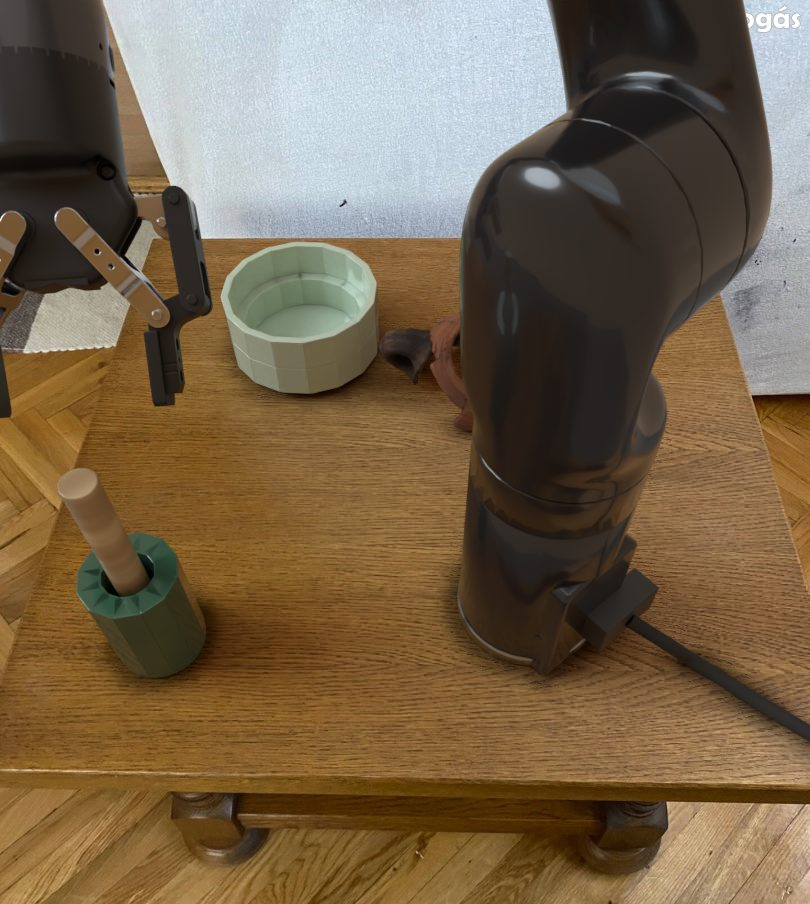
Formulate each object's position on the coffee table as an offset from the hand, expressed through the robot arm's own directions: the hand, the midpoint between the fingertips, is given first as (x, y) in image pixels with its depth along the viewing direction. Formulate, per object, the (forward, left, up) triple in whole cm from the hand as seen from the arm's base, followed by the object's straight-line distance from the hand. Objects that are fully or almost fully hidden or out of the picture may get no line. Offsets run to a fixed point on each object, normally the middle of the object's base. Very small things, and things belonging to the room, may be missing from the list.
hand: (82, 412), depth 42 cm
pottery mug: (+1, -28, -17) cm, 33 cm away
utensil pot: (-3, +2, -17) cm, 18 cm away
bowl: (+13, -22, -17) cm, 30 cm away
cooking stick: (-3, +2, -17) cm, 17 cm away
